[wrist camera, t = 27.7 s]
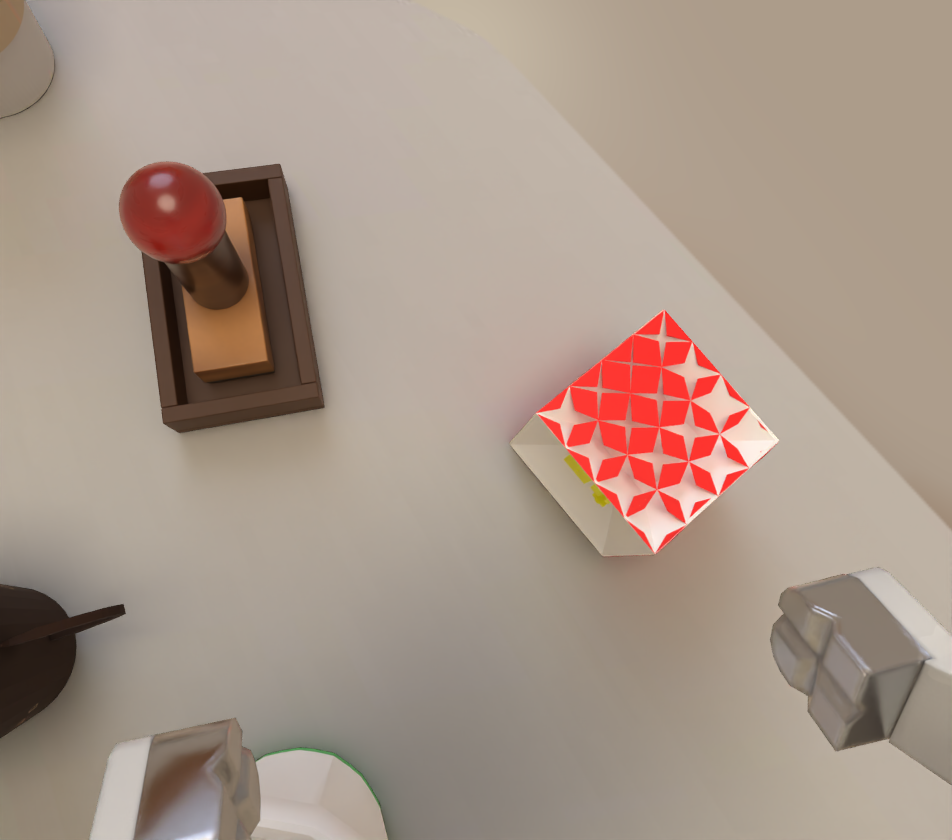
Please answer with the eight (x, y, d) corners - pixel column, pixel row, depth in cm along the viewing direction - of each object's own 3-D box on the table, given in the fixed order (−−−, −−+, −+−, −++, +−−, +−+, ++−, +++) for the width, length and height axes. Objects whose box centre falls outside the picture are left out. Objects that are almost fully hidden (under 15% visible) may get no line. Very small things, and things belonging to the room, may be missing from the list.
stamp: (281, 374, 37) (228, 290, 26) (203, 387, 37) (115, 307, 25) (256, 219, 39) (196, 78, 27) (181, 229, 38) (89, 89, 27)
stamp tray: (324, 407, 38) (319, 396, 35) (178, 433, 36) (162, 423, 34) (287, 187, 40) (279, 163, 37) (149, 205, 39) (132, 181, 36)
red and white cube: (508, 443, 38) (535, 412, 30) (612, 358, 40) (663, 308, 32) (603, 558, 37) (656, 556, 30) (706, 466, 39) (781, 442, 31)
